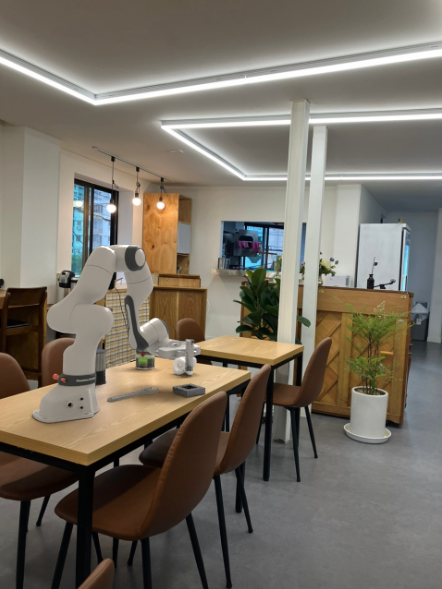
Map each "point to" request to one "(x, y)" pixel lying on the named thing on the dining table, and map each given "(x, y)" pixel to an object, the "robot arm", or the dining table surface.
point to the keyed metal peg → (189, 354)
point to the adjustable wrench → (133, 394)
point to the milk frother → (100, 366)
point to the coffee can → (145, 360)
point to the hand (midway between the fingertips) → (190, 354)
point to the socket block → (188, 390)
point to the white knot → (182, 366)
